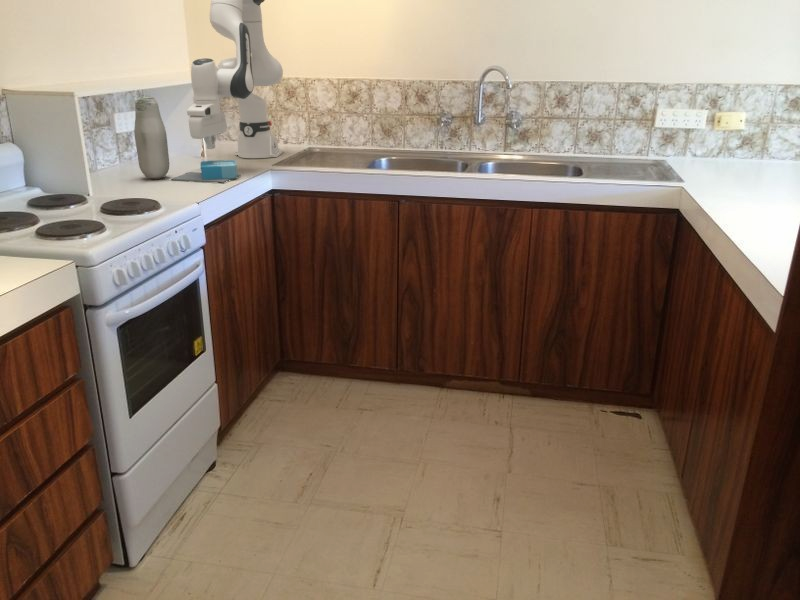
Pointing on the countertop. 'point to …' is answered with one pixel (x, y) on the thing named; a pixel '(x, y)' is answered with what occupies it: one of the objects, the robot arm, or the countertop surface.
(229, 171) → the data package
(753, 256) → the countertop surface
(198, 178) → the mat
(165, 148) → the grey bottle
